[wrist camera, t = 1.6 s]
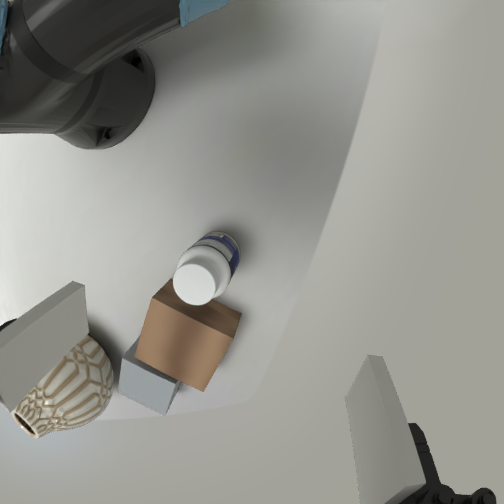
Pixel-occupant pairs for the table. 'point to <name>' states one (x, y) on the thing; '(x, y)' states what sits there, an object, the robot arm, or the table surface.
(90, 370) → the vase
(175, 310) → the walnut block
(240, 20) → the table surface
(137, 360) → the slate block
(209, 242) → the pill bottle
